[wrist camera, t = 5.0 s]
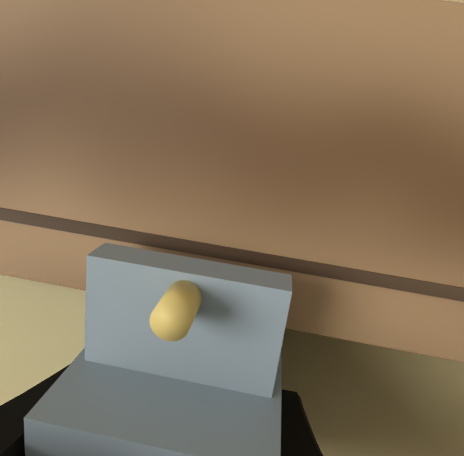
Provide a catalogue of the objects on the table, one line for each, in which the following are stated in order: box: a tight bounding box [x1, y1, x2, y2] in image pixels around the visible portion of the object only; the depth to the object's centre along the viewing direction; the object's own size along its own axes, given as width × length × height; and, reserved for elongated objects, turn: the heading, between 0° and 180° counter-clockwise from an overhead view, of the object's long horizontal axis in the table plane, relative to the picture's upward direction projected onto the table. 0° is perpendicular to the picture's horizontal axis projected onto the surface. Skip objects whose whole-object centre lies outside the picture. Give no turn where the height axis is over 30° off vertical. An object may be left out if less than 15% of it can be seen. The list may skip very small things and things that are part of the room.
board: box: [0, 0, 464, 362], centre depth 9 cm, size 7×20×2 cm, turn 82°
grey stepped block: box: [24, 243, 292, 456], centre depth 9 cm, size 7×4×5 cm, turn 173°
